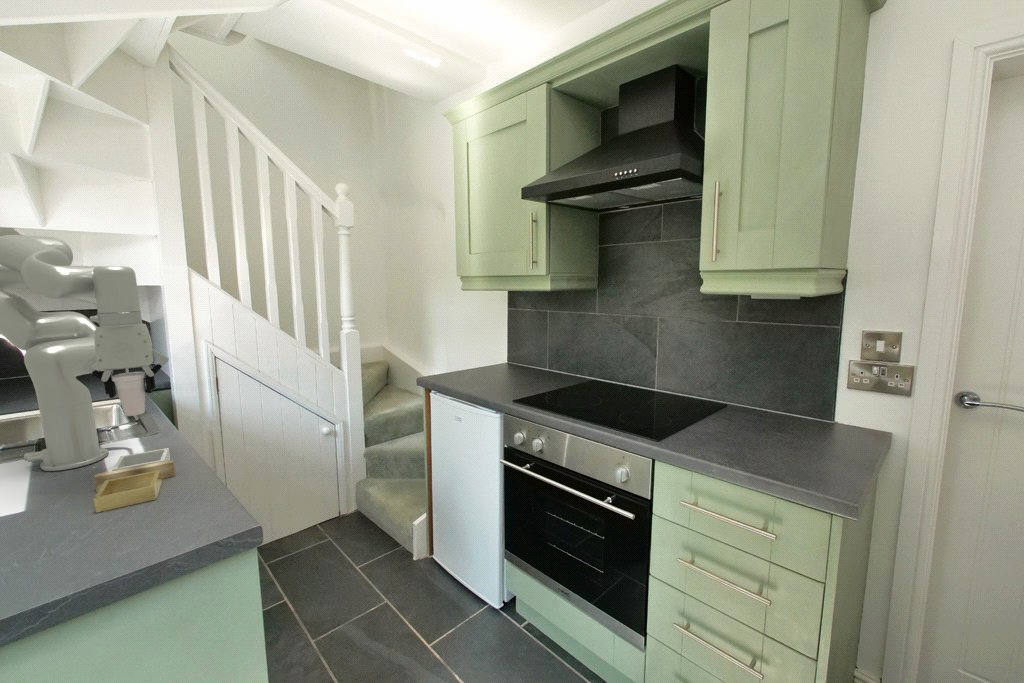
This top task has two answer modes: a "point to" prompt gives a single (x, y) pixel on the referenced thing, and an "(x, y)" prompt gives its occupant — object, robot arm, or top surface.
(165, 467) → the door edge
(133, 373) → the smoothie
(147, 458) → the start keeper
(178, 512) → the top surface
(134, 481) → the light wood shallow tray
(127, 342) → the robot arm
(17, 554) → the top surface
